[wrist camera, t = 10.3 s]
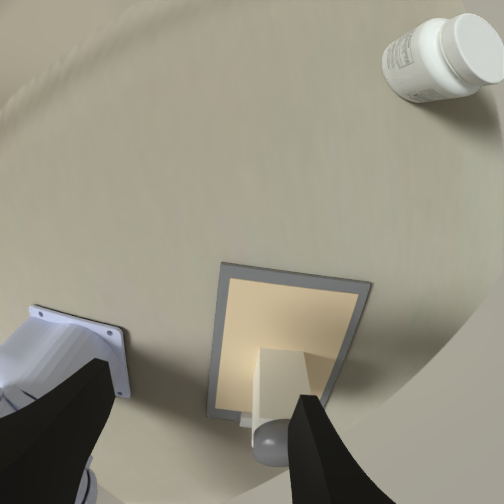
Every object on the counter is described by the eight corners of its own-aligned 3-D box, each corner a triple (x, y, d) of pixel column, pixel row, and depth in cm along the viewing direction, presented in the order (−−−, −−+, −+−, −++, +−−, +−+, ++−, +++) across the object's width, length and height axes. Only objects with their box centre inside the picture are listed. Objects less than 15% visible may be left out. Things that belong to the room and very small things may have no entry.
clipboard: (206, 413, 25) (205, 423, 24) (221, 261, 20) (219, 269, 18) (314, 422, 25) (316, 432, 24) (369, 281, 20) (374, 289, 19)
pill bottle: (448, 84, 15) (526, 72, 8) (408, 115, 16) (486, 111, 9) (409, 30, 14) (476, -7, 7) (366, 59, 15) (427, 20, 8)
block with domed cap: (251, 379, 22) (249, 465, 15) (258, 346, 21) (258, 436, 14) (294, 383, 23) (304, 467, 15) (304, 350, 21) (321, 438, 14)
